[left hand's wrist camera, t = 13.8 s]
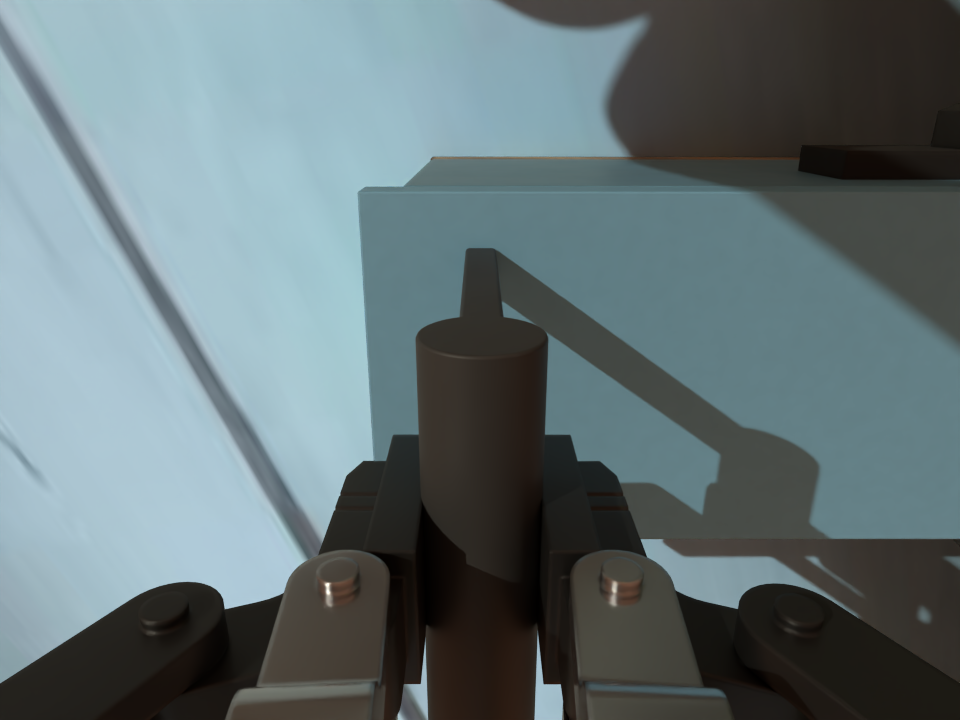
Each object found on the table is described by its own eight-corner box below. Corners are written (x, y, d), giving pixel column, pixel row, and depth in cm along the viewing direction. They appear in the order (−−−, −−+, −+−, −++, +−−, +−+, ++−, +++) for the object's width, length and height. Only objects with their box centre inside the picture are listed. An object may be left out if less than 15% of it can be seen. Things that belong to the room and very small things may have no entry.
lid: (383, 518, 19) (312, 820, 11) (364, 186, 16) (246, 268, 8) (954, 518, 19) (1303, 820, 11) (1048, 186, 16) (1630, 267, 8)
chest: (437, 381, 29) (413, 514, 20) (432, 156, 26) (401, 185, 16) (800, 383, 29) (953, 517, 20) (840, 157, 26) (1047, 186, 16)
